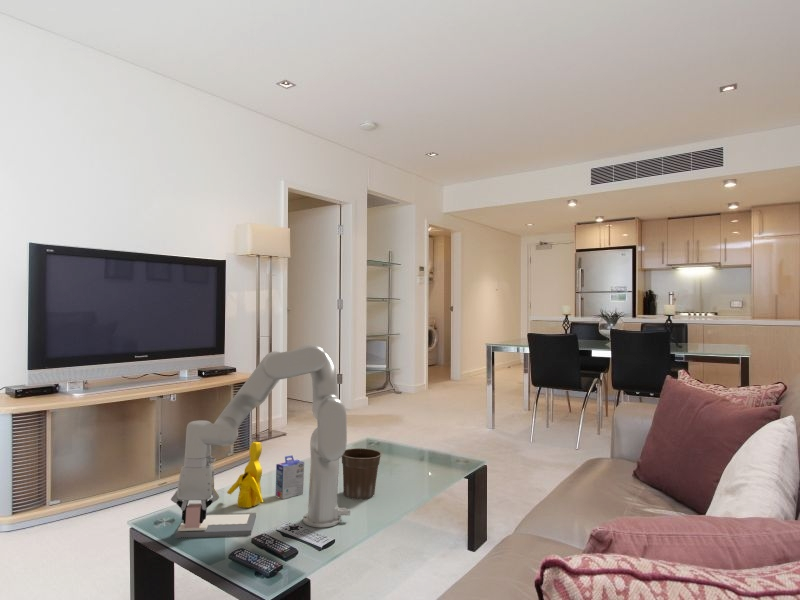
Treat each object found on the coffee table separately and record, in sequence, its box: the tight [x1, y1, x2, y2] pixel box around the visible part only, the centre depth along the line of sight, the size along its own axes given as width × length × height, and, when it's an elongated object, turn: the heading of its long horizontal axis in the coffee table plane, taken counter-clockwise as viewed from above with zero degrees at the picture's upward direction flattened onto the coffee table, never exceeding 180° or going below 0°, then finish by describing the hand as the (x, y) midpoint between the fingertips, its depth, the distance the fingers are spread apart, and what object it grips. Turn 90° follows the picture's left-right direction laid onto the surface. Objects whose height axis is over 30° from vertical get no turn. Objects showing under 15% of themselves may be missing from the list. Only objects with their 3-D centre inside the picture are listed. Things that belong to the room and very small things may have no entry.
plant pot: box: [341, 447, 382, 500], centre depth 192 cm, size 16×16×16 cm
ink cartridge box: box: [275, 455, 305, 500], centre depth 189 cm, size 10×6×14 cm, turn 137°
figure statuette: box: [226, 441, 264, 509], centre depth 177 cm, size 18×8×22 cm, turn 60°
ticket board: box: [174, 512, 257, 539], centre depth 156 cm, size 22×14×2 cm, turn 100°
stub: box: [177, 502, 209, 531], centre depth 151 cm, size 8×4×7 cm, turn 100°
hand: (193, 521), depth 151 cm, fingers closed on stub, 4 cm apart
